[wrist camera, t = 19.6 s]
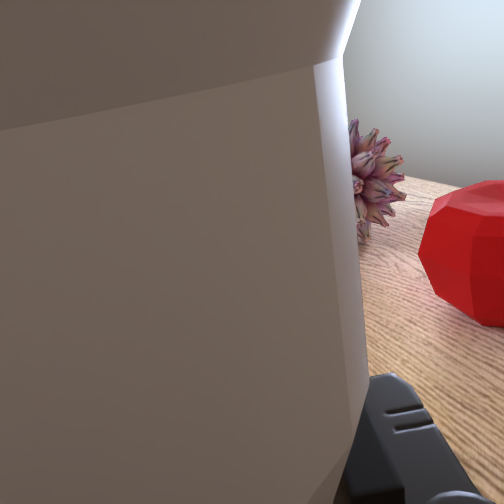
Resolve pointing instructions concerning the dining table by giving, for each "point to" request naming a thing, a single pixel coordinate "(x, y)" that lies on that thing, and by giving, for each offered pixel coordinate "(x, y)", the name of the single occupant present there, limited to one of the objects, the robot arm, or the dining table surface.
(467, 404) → the dining table surface
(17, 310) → the chalice
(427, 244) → the apple
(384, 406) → the robot arm
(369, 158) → the flower
